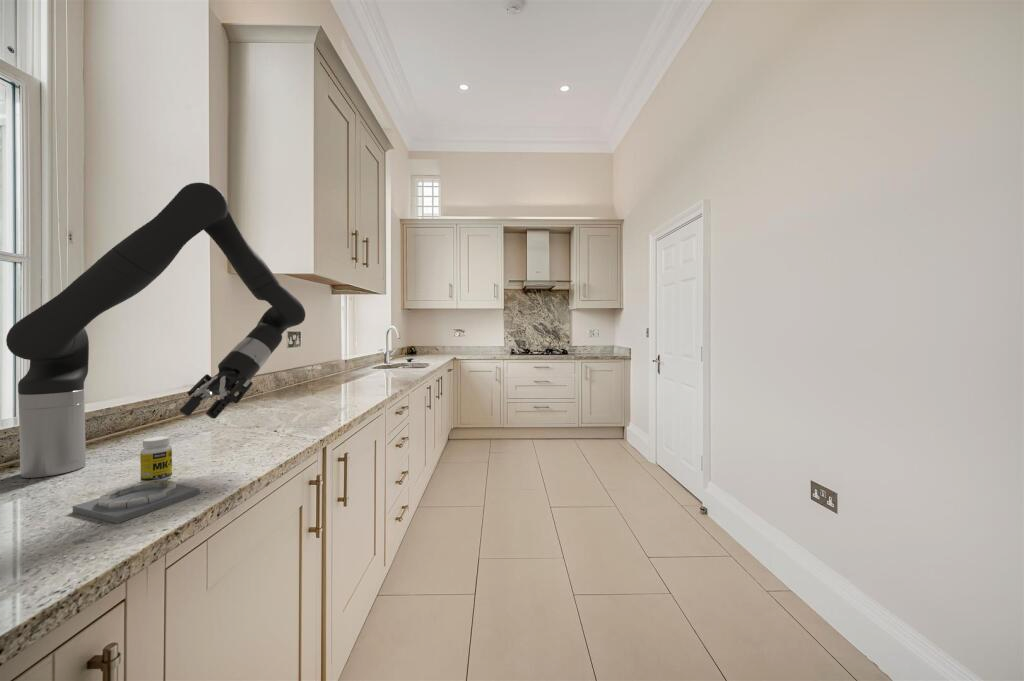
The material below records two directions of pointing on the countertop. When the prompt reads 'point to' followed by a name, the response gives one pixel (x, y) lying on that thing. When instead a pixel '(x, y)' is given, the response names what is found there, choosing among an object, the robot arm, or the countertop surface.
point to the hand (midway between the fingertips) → (196, 415)
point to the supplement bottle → (156, 459)
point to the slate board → (128, 513)
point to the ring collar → (109, 503)
